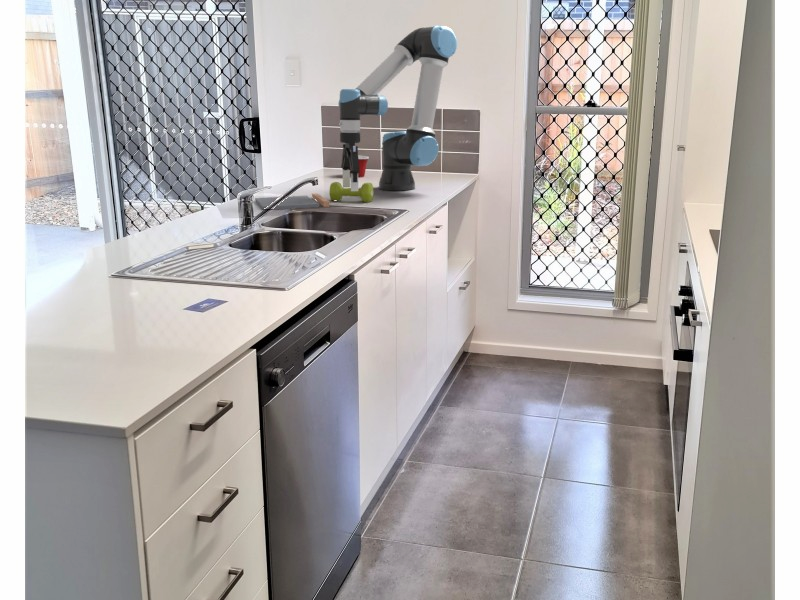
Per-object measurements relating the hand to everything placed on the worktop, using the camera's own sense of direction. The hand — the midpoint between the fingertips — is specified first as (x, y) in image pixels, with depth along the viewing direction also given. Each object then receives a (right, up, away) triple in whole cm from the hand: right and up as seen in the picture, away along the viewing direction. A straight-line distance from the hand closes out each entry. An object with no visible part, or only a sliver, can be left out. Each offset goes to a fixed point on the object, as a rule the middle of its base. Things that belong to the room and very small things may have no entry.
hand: (350, 189), depth 297 cm
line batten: (-11, -5, -2) cm, 12 cm away
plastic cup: (-1, +12, +63) cm, 64 cm away
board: (-24, -6, -5) cm, 25 cm away
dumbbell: (0, -5, +2) cm, 5 cm away
